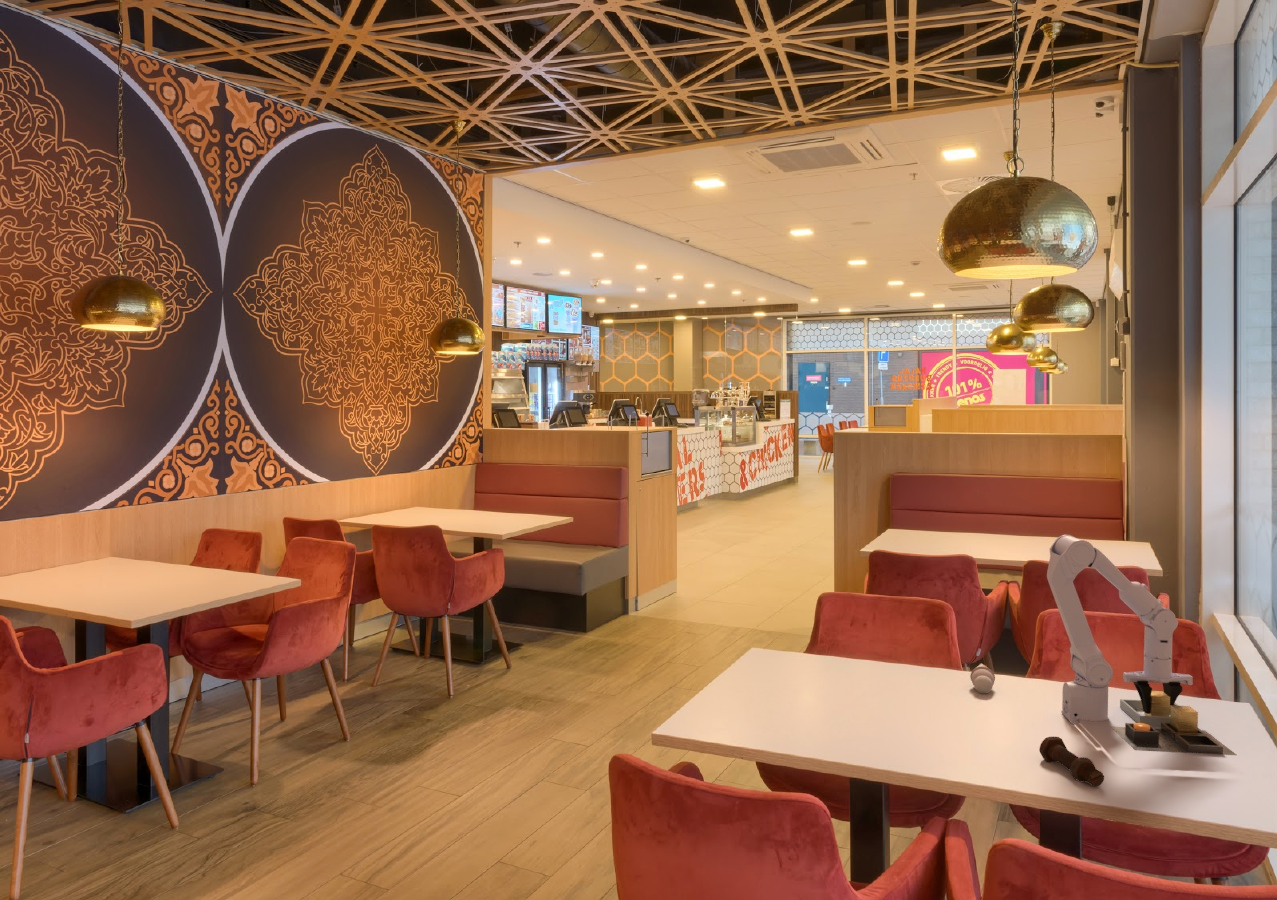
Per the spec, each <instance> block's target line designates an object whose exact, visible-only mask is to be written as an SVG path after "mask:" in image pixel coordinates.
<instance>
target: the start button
mask: <svg viewBox="0 0 1277 900" xmlns="http://www.w3.org/2000/svg"><path fill="white" fill-rule="evenodd" d="M1134 729H1135V730H1136V731H1150V726H1149V725H1147V724H1144V723H1137V722H1134Z"/></svg>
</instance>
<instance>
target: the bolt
mask: <svg viewBox="0 0 1277 900" xmlns="http://www.w3.org/2000/svg"><path fill="white" fill-rule="evenodd" d="M1039 754H1040V755H1041V757H1042V758H1043V760H1044V761H1045V762H1047V763H1056V762H1057V763H1058V764H1060V765H1061V766H1063V767H1064V768H1066V769H1067V770H1069V772H1070V773H1071V776H1073V778H1074V779H1075V780H1076V779H1077V780H1076V781H1078V782H1081V781H1084V782H1086V783H1088V784H1089V785H1090V786H1093V787H1099V786H1101V785H1102V784H1103V783H1104V782H1105V775H1104V773H1103V772H1102V771H1100V770H1099V769H1098V768H1096V766H1095V763H1094V762H1093V761H1092V759H1090V758H1088V757H1083V756H1082V757H1079V756H1077V755H1076V754H1074V753H1072V752H1071V751H1069V750H1068V748H1067V746H1066V744H1065V743H1064V740H1063V739H1062V738H1061V737H1059V736H1048V737H1045V738H1044V739H1043V740H1042V741H1041V743H1040V746H1039Z"/></svg>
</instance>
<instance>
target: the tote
mask: <svg viewBox="0 0 1277 900" xmlns="http://www.w3.org/2000/svg"><path fill="white" fill-rule="evenodd" d="M1174 706H1180V705H1179V704H1178V703H1176V702H1175V703H1174ZM1119 708H1120V709H1121V710H1122V711H1123V712H1124V713H1125V714H1127V715H1128V716H1129V717H1130V718H1131V719H1132V720H1133V721H1135V723H1144V724H1150V725H1151V726H1152V727H1155V726H1156V727H1161V723H1170V717H1161V716H1146V715H1141V714H1140V713H1139V712H1138V711H1136V709H1137V710H1143V706H1142V702H1141V699H1127V698H1126V699H1122V698H1121V699H1119Z"/></svg>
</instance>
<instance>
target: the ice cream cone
mask: <svg viewBox="0 0 1277 900" xmlns="http://www.w3.org/2000/svg"><path fill="white" fill-rule="evenodd" d="M969 675H970V676H969V677H970V678H969V679H970V681H971V683H972V685H973V687H974V689H975V690H976V691H977V692H978V693H980V694H982V695H983V694H988V693H990V692H991V691H992V690H993V686H994V684H995V682H996V681H995V680H996V676H995V674H994V672H993V670H992V669H990V668H989V667H987V665H985V664H983V663H979V665H978V666H976V667H975V668H973V669H972V670H971V672H970V674H969Z"/></svg>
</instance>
